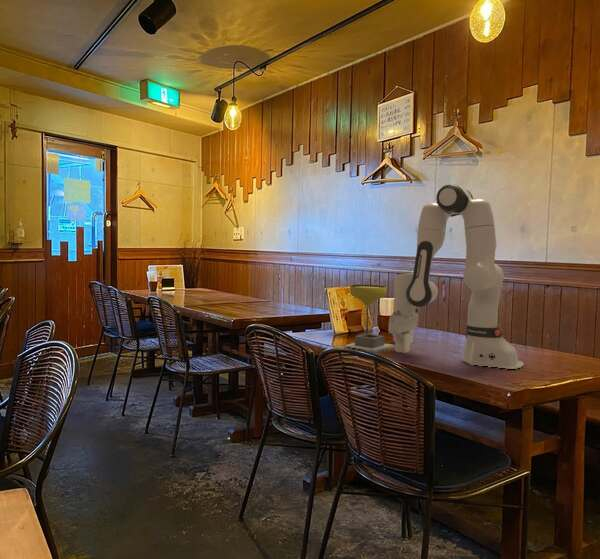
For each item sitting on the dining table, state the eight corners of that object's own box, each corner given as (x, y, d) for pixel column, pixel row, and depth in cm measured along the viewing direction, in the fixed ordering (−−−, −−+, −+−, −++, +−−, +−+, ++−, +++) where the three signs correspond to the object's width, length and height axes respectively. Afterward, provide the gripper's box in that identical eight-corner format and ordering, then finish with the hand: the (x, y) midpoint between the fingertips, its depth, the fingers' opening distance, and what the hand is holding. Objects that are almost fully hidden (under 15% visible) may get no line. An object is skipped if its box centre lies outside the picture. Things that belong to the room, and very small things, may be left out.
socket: (394, 347, 222) (394, 336, 221) (376, 352, 209) (376, 340, 209) (363, 342, 232) (363, 331, 231) (344, 347, 219) (344, 336, 219)
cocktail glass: (345, 332, 257) (346, 284, 255) (379, 332, 259) (380, 285, 257) (353, 339, 239) (354, 287, 237) (389, 339, 241) (391, 287, 240)
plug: (409, 351, 213) (410, 330, 212) (404, 353, 209) (405, 331, 209) (400, 350, 216) (400, 329, 215) (395, 351, 212) (395, 330, 212)
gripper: (398, 312, 201) (397, 346, 202) (420, 308, 217) (419, 339, 218) (385, 311, 205) (384, 344, 206) (407, 307, 221) (406, 338, 222)
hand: (402, 342), depth 212 cm, fingers closed on plug, 4 cm apart
